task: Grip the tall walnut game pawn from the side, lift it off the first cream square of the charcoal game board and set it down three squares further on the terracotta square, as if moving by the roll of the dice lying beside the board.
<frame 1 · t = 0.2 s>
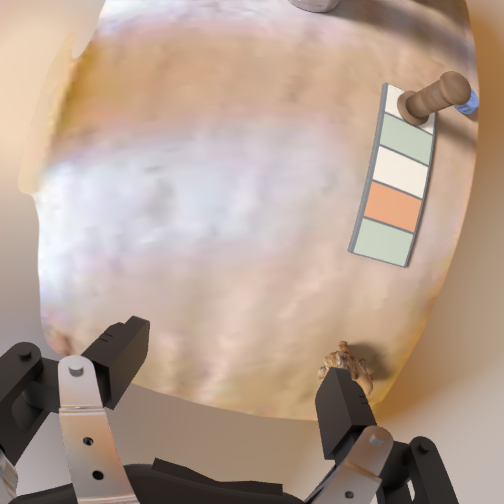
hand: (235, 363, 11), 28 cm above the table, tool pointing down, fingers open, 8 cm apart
lion figurine: (343, 359, 43), on the table
game board: (398, 173, 36), on the table
pawn: (412, 108, 32), point 1 cm above the table, touching game board
decorative dice: (458, 102, 32), on the table
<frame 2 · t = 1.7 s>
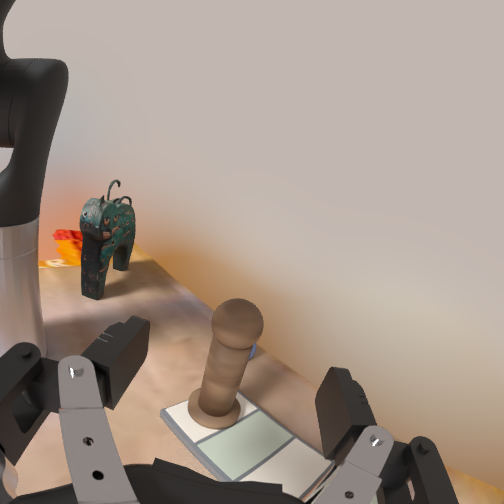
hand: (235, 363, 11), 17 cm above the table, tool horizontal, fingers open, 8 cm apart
game board: (283, 479, 20), on the table
ceramic cat: (105, 281, 49), on the table
pawn: (213, 410, 26), point 1 cm above the table, touching game board
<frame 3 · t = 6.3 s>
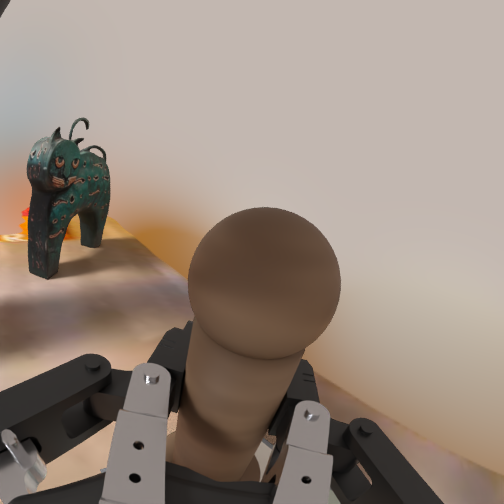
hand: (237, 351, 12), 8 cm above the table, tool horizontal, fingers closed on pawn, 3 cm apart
ceramic cat: (66, 258, 34), on the table
pawn: (204, 473, 11), point 1 cm above the table, touching game board, gripper
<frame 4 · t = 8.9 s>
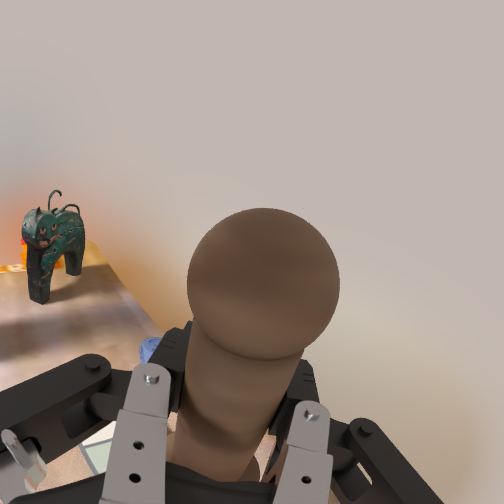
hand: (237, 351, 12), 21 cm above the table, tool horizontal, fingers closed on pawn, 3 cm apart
game board: (163, 499, 17), on the table
ceramic cat: (55, 286, 46), on the table
pawn: (204, 473, 11), point 14 cm above the table, touching gripper
decorative dice: (154, 366, 36), on the table
when the fingers open (10 cm above the table, at t = 11.6 s): pawn drops 1 cm, resting on game board.
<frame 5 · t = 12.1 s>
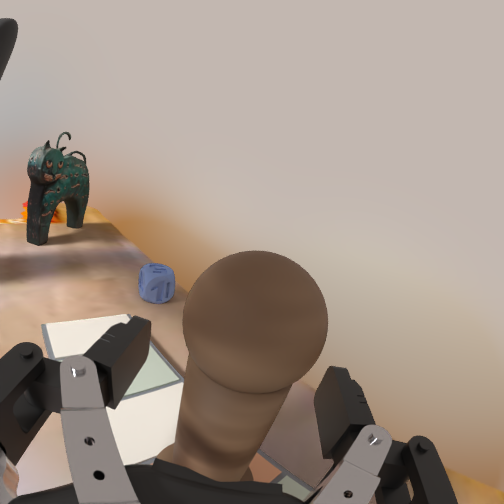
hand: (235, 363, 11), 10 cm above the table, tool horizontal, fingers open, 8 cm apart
game board: (149, 433, 15), on the table
ceramic cat: (55, 234, 44), on the table
pawn: (201, 482, 11), point 1 cm above the table, touching game board
decorative dice: (154, 298, 35), on the table
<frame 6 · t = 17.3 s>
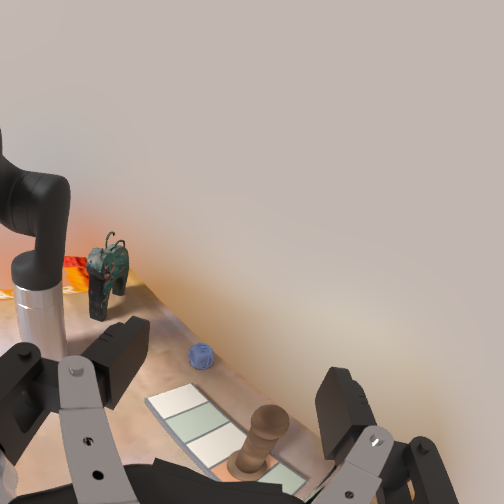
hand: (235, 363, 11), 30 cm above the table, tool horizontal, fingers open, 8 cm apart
game board: (219, 448, 34), on the table
ceramic cat: (107, 305, 63), on the table
pawn: (246, 466, 30), point 1 cm above the table, touching game board
decorative dice: (199, 364, 53), on the table
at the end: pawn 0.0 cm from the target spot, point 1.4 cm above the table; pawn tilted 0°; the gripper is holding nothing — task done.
